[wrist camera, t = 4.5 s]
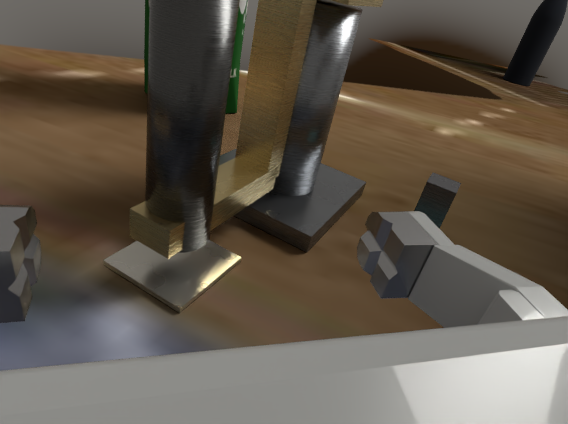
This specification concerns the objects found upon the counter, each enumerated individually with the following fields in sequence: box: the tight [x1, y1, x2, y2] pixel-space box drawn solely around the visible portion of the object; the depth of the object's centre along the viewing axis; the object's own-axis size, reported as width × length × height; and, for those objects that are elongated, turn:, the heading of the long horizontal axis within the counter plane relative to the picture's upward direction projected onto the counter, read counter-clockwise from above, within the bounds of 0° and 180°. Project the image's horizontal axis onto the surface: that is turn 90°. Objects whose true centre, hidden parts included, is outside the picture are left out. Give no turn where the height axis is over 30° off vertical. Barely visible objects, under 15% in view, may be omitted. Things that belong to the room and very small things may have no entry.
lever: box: [130, 0, 383, 259], centre depth 22 cm, size 16×6×13 cm, turn 151°
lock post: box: [103, 0, 461, 313], centre depth 22 cm, size 18×18×13 cm
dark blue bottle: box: [503, 0, 568, 86], centre depth 94 cm, size 6×6×30 cm
